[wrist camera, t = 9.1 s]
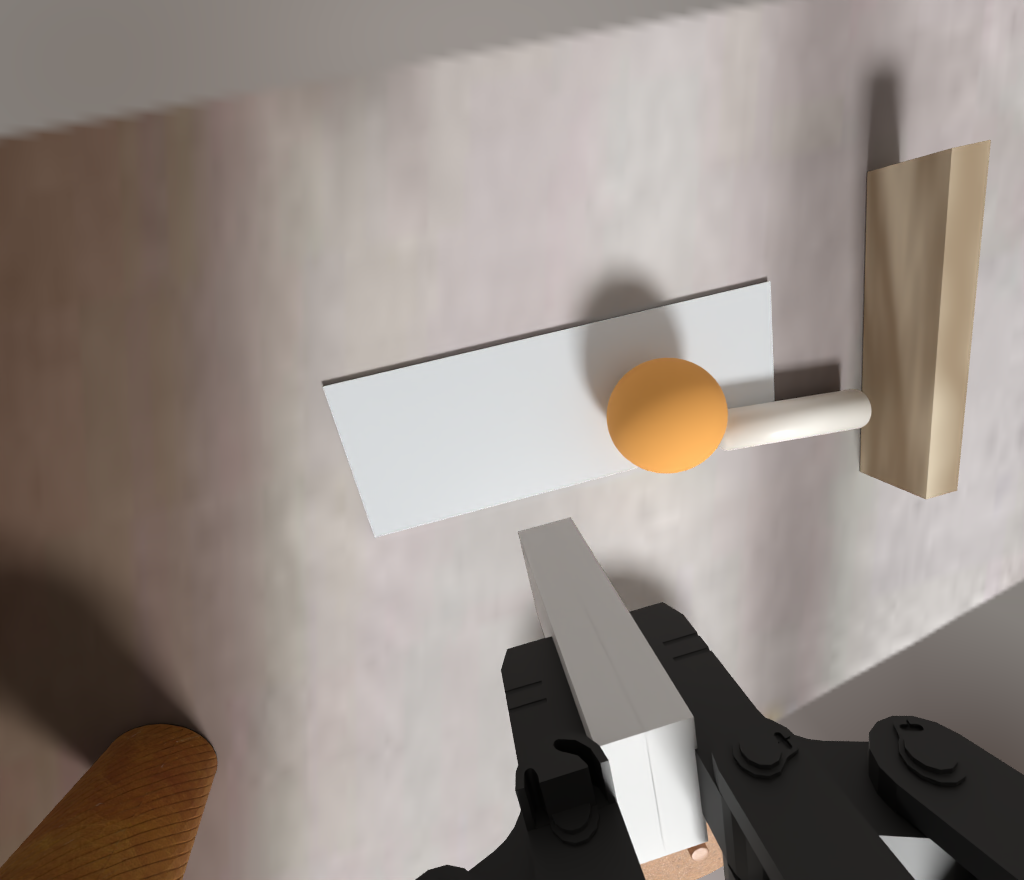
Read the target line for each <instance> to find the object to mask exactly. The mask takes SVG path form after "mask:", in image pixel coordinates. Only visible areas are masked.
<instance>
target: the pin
mask: <svg viewBox="0 0 1024 880" xmlns="http://www.w3.org/2000/svg"><path fill="white" fill-rule="evenodd" d="M870 417H871V404H870V401H869V399H868V398H867V396H866V395H865V394H864V393H863V392H861V391H860V390H857V389H849V390H843V391H836V392H830V393H824V394H818V395H811V396H805V397H799V398H793V399H787V400H780V401H774V402H768V403H762V404H755V405H749V406H743V407H737V408H730V409H728V421H727V427H726V431H725V434H724V436H723V438H722V440H721V442H720V444H719V447H720V448H721V449H723V450H725V451H729V450H734V449H740V448H746V447H752V446H758V445H764V444H769V443H775V442H781V441H787V440H793V439H799V438H804V437H810V436H816V435H822V434H828V433H834V432H839V431H845V430H851V429H857V428H861V427H863V426H865V425H866V424H867V423H868V422H869V420H870Z"/></svg>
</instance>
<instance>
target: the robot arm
mask: <svg viewBox="0 0 1024 880" xmlns="http://www.w3.org/2000/svg"><path fill="white" fill-rule="evenodd" d="M518 534H519V538H520V542H521V547H522V551H523V555H524V559H525V564H526V568H527V572H528V576H529V581H530V585H531V589H532V594H533V598H534V602H535V606H536V611H537V614H538V617H539V620H540V624H541V627H542V630H543V633H544V636H545V638H544V639H540V640H537V641H534V642H530V643H527V644H523V645H520V646H516V647H513V648H510V649H507V652H506V655H505V658H504V662H503V665H502V669H501V672H502V678H503V683H504V689H505V694H506V700H507V705H508V710H509V716H510V722H511V727H512V733H513V738H514V744H515V749H516V755H517V760H518V768H517V770H516V786H515V791H516V794H517V798H518V801H519V804H520V808H521V812H520V815H519V817H518V820H517V822H516V825H515V827H514V829H513V830H512V831H511V833H510V834H509V836H508V837H507V839H506V840H505V841H504V842H503V843H502V844H501V845H500V846H499V847H498V848H497V849H496V850H495V851H494V852H493V853H491V854H490V855H489V856H488V857H486V858H485V859H484V860H482V861H481V862H480V863H478V864H477V865H476V866H475V867H473V868H472V869H471V870H469V871H467V870H466V869H464V868H460V867H455V866H450V865H445V866H441V867H437V868H434V869H430V870H428V871H426V872H425V873H424V874H422V875H421V876H420V877H418V878H417V879H416V880H646V879H645V877H644V874H643V871H642V868H641V866H640V864H643V863H646V862H649V861H652V860H655V859H658V858H661V857H663V856H666V855H669V854H672V853H675V852H678V851H681V850H684V849H687V848H690V847H693V846H696V845H699V844H702V843H705V842H708V834H707V825H706V822H707V823H708V825H709V827H710V829H711V831H712V833H713V835H714V837H715V839H716V841H717V843H718V845H719V847H720V849H721V850H722V855H723V865H724V874H725V880H1024V775H1023V774H1021V773H1020V772H1018V771H1016V770H1015V769H1013V768H1012V767H1010V766H1009V765H1007V764H1005V763H1004V762H1002V761H1001V760H999V759H998V758H996V757H994V756H993V755H991V754H990V753H988V752H987V751H985V750H984V749H982V748H980V747H979V746H977V745H976V744H974V743H973V742H971V741H969V740H968V739H966V738H965V737H963V736H961V735H960V734H958V733H956V732H954V731H952V730H950V729H948V728H946V727H944V726H942V725H940V724H938V723H936V722H932V721H929V720H925V719H921V718H918V717H914V716H891V717H888V718H886V719H883V720H880V721H878V722H877V723H876V724H875V725H874V727H873V728H872V730H871V731H870V732H869V742H849V741H820V740H811V739H806V738H803V737H800V736H796V735H794V734H793V733H792V732H790V730H789V729H787V728H786V727H784V726H782V725H780V724H778V723H776V722H774V721H772V720H770V719H767V718H765V717H764V716H763V715H762V714H761V713H760V712H759V711H758V710H757V709H756V707H755V706H754V705H753V703H752V702H751V701H750V700H749V698H748V697H747V696H746V694H745V693H744V692H743V691H742V689H741V688H740V687H739V686H738V684H737V683H736V682H735V680H734V679H733V678H732V677H731V675H730V674H729V673H728V671H727V670H726V669H725V668H724V666H723V665H722V664H721V662H720V661H719V660H718V659H717V657H716V656H715V655H714V653H713V652H712V651H710V650H709V647H708V646H707V644H706V643H705V642H704V641H703V639H702V638H701V637H700V636H698V634H697V632H696V630H695V629H694V628H693V627H692V625H691V624H690V623H689V621H688V620H687V619H686V618H685V616H684V615H683V614H681V613H680V612H678V611H676V610H675V609H673V608H671V607H670V606H668V605H666V604H665V603H663V602H662V603H658V604H655V605H651V606H648V607H645V608H641V609H638V610H634V611H631V612H629V611H628V609H627V608H626V606H625V605H624V603H623V601H622V600H621V598H620V596H619V595H618V593H617V592H616V590H615V588H614V587H613V585H612V583H611V582H610V580H609V579H608V577H607V575H606V574H605V572H604V571H603V569H602V567H601V566H600V564H599V562H598V561H597V559H596V558H595V556H594V554H593V553H592V551H591V549H590V548H589V546H588V545H587V543H586V541H585V540H584V538H583V536H582V535H581V533H580V532H579V530H578V528H577V527H576V525H575V524H574V522H573V520H572V519H571V517H570V518H567V519H563V520H559V521H555V522H552V523H548V524H544V525H541V526H537V527H533V528H530V529H526V530H522V531H519V532H518Z"/></svg>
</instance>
